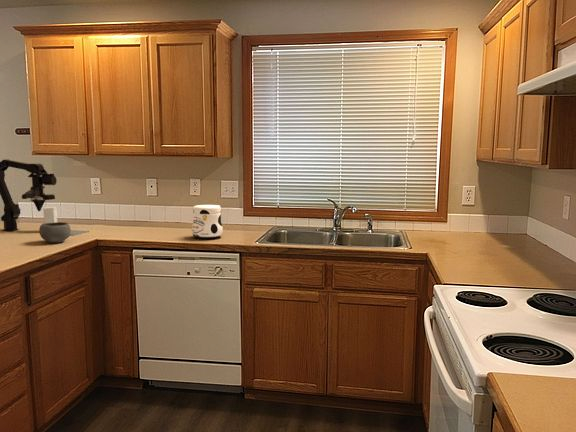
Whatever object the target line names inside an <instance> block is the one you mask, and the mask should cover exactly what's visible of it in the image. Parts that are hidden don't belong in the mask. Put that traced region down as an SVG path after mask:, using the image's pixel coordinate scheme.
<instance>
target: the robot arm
mask: <svg viewBox="0 0 576 432" xmlns="http://www.w3.org/2000/svg"><path fill="white" fill-rule="evenodd" d="M8 168H13V169H18V170H23V171H26V172H28V173H30V174H29V175H28V176H27V177H28V178H31V186H30V188H29V190H27V191H26V192H25V193H22V195H21V199H23V200H26V199H29V201H31V202H32V203H34V206H35V208H36V210H37V211H38V212H40V211H42V209H43V207H44V204H45V202H46V201H49V200H55V199H56V196H55V194H52V193H51V194H50V193H49V194H46V193H44V189H45V186H55V185H57V177H56V176H55V174H54V173H48V172H47V170H45V167H44V166H43V164H42V163H27V162H22V161H17V160H11V159H7V158H6V159H2V160H0V198H1V200H2V203H3V215H1V217H0V220H1V222H3V229H2V230H1V231H3V232H13V231H17V230H19V229H20V228H18V223H17V220H18V219H19V216H20V215H21V208H20V206H19V204H18V203H16V204H15V202H14V201H13V197H12V195H11V193H10V191H9V188H8V186H7V183H6V181H5V176H6V174H5V173H6V172H5V171H7V170H8ZM19 231H20V230H19Z"/></svg>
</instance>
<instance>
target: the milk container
mask: <svg viewBox="0 0 576 432" xmlns="http://www.w3.org/2000/svg"><path fill="white" fill-rule="evenodd" d="M221 208H222V207H221V205H218V204H198V205H193V211H192V212H193V214H192V215H193V217H192V218H193V222H192V226H191V233H192V235H193V236H194V237H195V238H198V239H216V238H219V237H221V236H222V235H223V231H224V230H223V229H224V227H223V223H222V209H221Z"/></svg>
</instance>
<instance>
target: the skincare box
mask: <svg viewBox="0 0 576 432" xmlns="http://www.w3.org/2000/svg"><path fill="white" fill-rule="evenodd" d="M42 210H43V211H42V212H43V224H44V223H54V222H58V213H57V212H58V211H57V206H46V207H42Z"/></svg>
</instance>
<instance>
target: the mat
mask: <svg viewBox="0 0 576 432" xmlns="http://www.w3.org/2000/svg"><path fill="white" fill-rule="evenodd" d="M70 230H71V231H70V235H69V236H77V235H81V234H85V233H89V230H77V229H70Z"/></svg>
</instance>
